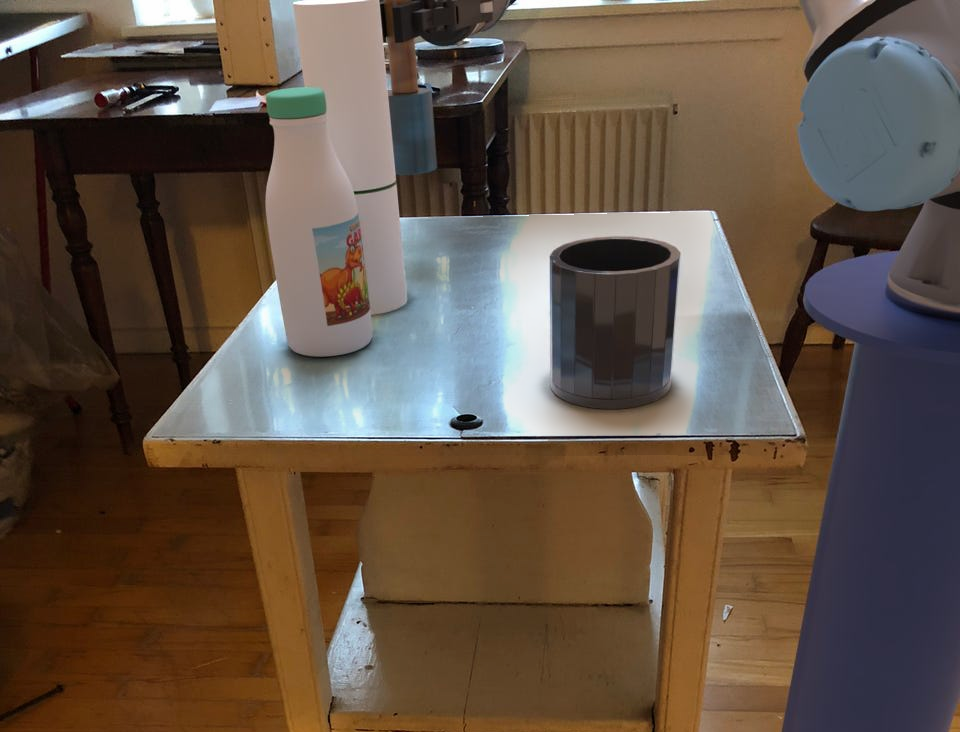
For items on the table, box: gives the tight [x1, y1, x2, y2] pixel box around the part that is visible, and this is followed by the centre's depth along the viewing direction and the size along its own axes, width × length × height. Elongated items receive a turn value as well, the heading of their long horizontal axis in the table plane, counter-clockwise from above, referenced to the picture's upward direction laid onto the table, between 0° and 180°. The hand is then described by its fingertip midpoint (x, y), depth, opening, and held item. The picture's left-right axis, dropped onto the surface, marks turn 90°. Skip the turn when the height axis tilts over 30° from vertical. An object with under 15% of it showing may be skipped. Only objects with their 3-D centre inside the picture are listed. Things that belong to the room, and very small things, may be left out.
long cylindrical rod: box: [383, 0, 438, 176], centre depth 93 cm, size 5×5×24 cm
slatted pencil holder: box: [549, 235, 681, 410], centre depth 74 cm, size 9×9×10 cm
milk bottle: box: [265, 86, 374, 358], centre depth 81 cm, size 8×8×20 cm
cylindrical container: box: [292, 0, 408, 316], centre depth 88 cm, size 7×7×25 cm
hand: (380, 25), depth 88 cm, fingers closed on long cylindrical rod, 3 cm apart
